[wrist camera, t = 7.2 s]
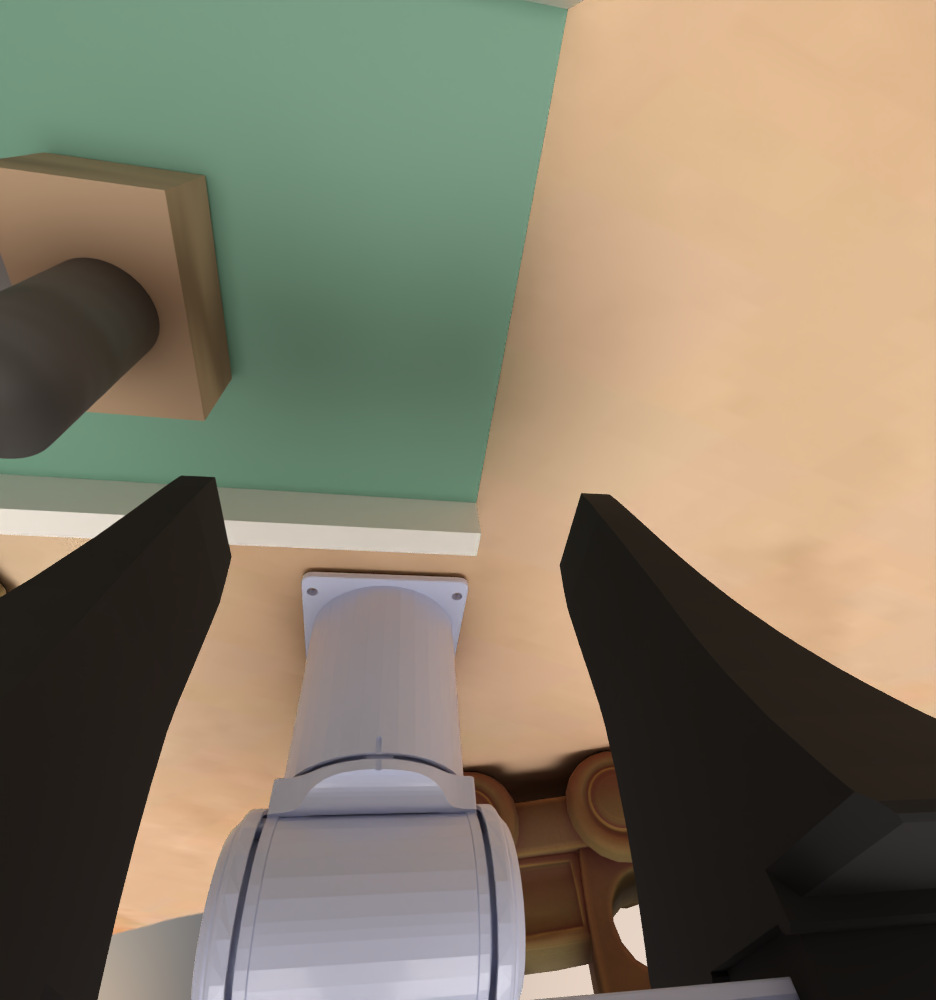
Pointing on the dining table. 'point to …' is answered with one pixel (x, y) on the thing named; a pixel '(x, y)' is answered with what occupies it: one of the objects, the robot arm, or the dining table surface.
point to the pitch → (305, 248)
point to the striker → (104, 297)
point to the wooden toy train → (574, 874)
